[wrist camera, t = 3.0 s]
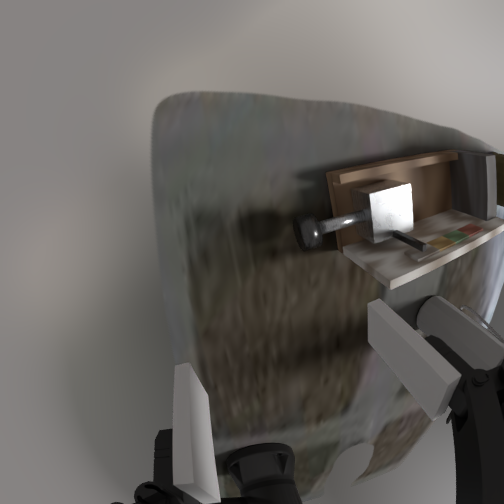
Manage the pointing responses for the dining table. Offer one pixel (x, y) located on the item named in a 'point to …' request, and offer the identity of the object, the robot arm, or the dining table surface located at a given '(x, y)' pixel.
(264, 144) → the dining table surface
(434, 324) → the water bottle
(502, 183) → the canister
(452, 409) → the robot arm
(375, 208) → the silver block with knob
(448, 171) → the brown wooden box
